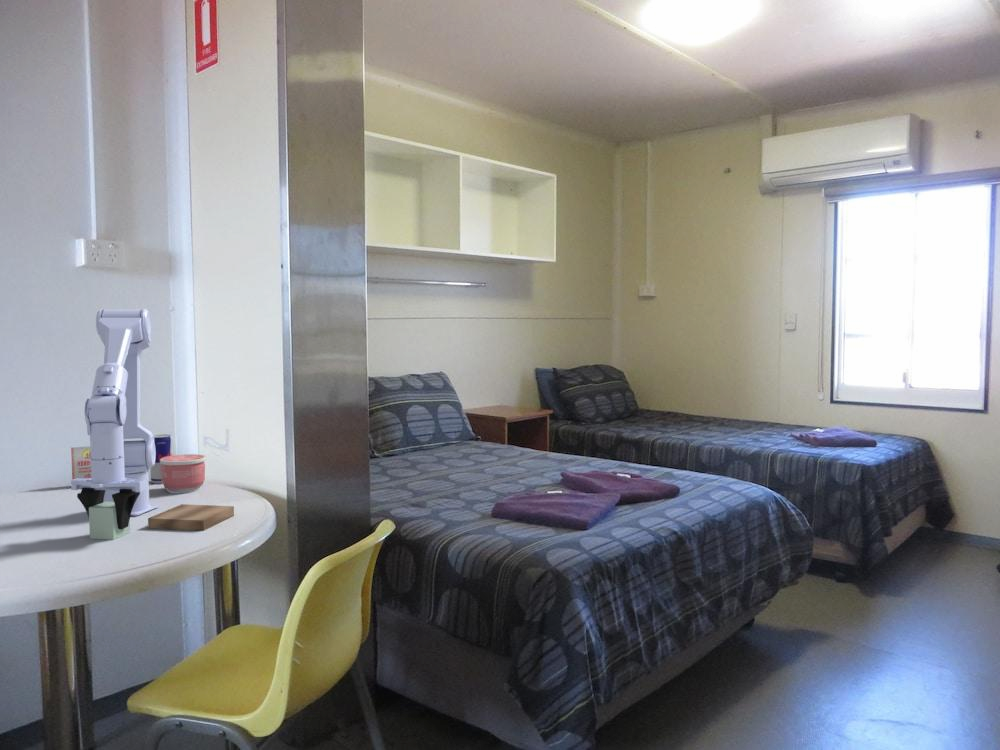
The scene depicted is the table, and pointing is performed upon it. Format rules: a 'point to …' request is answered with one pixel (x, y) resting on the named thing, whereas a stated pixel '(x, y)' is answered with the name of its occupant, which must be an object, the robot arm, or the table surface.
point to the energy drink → (160, 455)
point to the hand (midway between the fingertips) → (110, 527)
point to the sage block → (105, 522)
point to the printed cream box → (81, 462)
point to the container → (183, 472)
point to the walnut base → (191, 517)
